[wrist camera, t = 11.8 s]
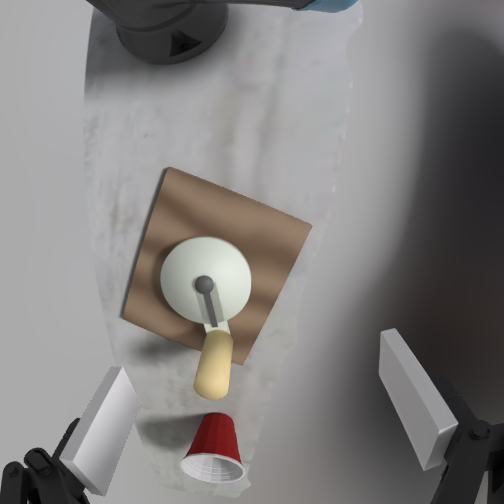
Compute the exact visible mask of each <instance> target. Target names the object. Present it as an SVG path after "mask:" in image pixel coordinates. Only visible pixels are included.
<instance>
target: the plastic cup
mask: <svg viewBox="0 0 504 504" xmlns="http://www.w3.org/2000/svg"><path fill="white" fill-rule="evenodd" d="M180 467H181V469H182V471H183V472H185V473H186V474H187V475H189V476H191V477H193V478H195V479H198V480H201V481H205V482H210V483H229V482H234V481H237V480H240V479H241V478H242V477H243V476H244V475H245V469H244V467H243V465H242V463H241V460H240V455H239V451H238V445H237V438H236V433H235V428H234V423H233V420H232V419H231V418H230V417H229V416H227V415H226V414H222V413H210V414H208V415H206V416H205V417H204V419H203V421H202V423H201V425H200V427H199V429H198V431H197V433H196V436H195V438H194V440H193V443H192V445H191V447H190V449H189V451H188V453H187V455H186V456H185V457H184V458H183V459H182V461H181V463H180Z"/></svg>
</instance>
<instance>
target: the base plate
mask: <svg viewBox="0 0 504 504" xmlns="http://www.w3.org/2000/svg"><path fill="white" fill-rule="evenodd" d="M311 228H312V225H311V224H309V223H307V222H304V221H302V220H300V219H297V218H295V217H293V216H290V215H288V214H286V213H284V212H281V211H279V210H277V209H274V208H272V207H269V206H267V205H265V204H262V203H260V202H258V201H255V200H253V199H250V198H248V197H246V196H243V195H241V194H238V193H236V192H233V191H231V190H228V189H226V188H224V187H221V186H219V185H216V184H214V183H211V182H208V181H206V180H203V179H201V178H198V177H196V176H193V175H191V174H188V173H185V172H183V171H180V170H178V169H175V168H172V167H168V169H167V172H166V175H165V178H164V180H163V183H162V186H161V189H160V192H159V194H158V197H157V200H156V203H155V206H154V209H153V212H152V215H151V218H150V221H149V225H148V228H147V231H146V234H145V237H144V241H143V244H142V247H141V251H140V254H139V257H138V261H137V264H136V268H135V271H134V275H133V279H132V282H131V286H130V290H129V294H128V298H127V302H126V306H125V310H124V314H123V318H122V319H124V320H126V321H129V322H131V323H133V324H135V325H138V326H140V327H142V328H144V329H147V330H149V331H152V332H154V333H156V334H159V335H161V336H164V337H166V338H168V339H171V340H173V341H176V342H178V343H181V344H183V345H186V346H189V347H191V348H194V349H197V350H199V351H202V349H203V345H204V341H205V338H206V335H207V334H206V330H205V327H204V324H203V323H197V322H194V321H191V320H189V319H186V318H185V317H183V316H181V315H180V314H179V313H177V312H176V311H175V310H174V309H173V308H172V307H171V306H170V305H169V303H168V302H167V300H166V298H165V296H164V294H163V291H162V287H161V280H160V278H161V270H162V266H163V263H164V261H165V260H166V258H167V256H168V255H169V254H170V252H171V251H172V250H173V249H174V248H175V247H176V246H177V245H178V244H179V243H181V242H182V241H184V240H186V239H188V238H191V237H194V236H199V235H211V236H217V237H220V238H223V239H225V240H227V241H229V242H231V243H232V244H233V245H235V246H236V247H237V248H238V249H239V250H240V251H241V252H242V253H243V255H244V256H245V258H246V260H247V262H248V264H249V267H250V271H251V291H250V295H249V298H248V301H247V303H246V304H245V306H244V307H243V309H242V310H241V311H240V312H239V313H238V314H236V315H235V316H234V317H232V318H231V319H228V320H227V322H228V327H229V331H230V335H231V336H232V338H233V350H232V358H231V362H233V363H236V364H239V365H241V366H242V365H243V363H244V361H245V360H246V358H247V356H248V354H249V352H250V350H251V348H252V346H253V344H254V343H255V341H256V339H257V337H258V335H259V333H260V331H261V329H262V327H263V325H264V323H265V321H266V319H267V317H268V315H269V313H270V312H271V310H272V308H273V306H274V304H275V302H276V300H277V298H278V296H279V294H280V292H281V290H282V288H283V286H284V284H285V282H286V280H287V278H288V276H289V274H290V271H291V269H292V267H293V265H294V263H295V261H296V259H297V257H298V255H299V253H300V251H301V249H302V247H303V245H304V243H305V240H306V238H307V236H308V234H309V232H310V230H311Z"/></svg>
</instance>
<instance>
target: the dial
mask: <svg viewBox="0 0 504 504" xmlns="http://www.w3.org/2000/svg"><path fill="white" fill-rule="evenodd" d="M160 280H161V287H162V291H163V294H164V296H165V298H166V300H167V302H168V303H169V305H170V306H171V307H172V308H173V309H174V310H175V311H176V312H177V313H179V314H180V315H181V316H183V317H185V318H186V319H189V320H191V321H194V322H197V323H203V324H204V327H205V330H206V334H207V335H206V338H205V341H204V345H203V349H202V353H201V357H200V361H199V365H198V369H197V373H196V377H195V381H194V389H195V391H196V393H197V394H198V395H200V396H201V397H203V398H206V399H210V400H216V399H220V398H223V397H224V396H225V395H226V394H227V392H228V386H229V376H230V367H231V358H232V350H233V338H232V336H231V335H230V331H229V327H228V322H227V320H228V319H231V318H232V317H234V316H235V315H236V314H238V313H239V312H240V311H241V310H242V309H243V307H244V306H245V304H246V303H247V301H248V298H249V295H250V291H251V271H250V267H249V264H248V262H247V260H246V258H245V256H244V255H243V253H242V252H241V251H240V250H239V249H238V248H237V247H236V246H235V245H233V244H232V243H231V242H229V241H227V240H225V239H223V238H220V237H217V236H211V235H199V236H194V237H191V238H188V239H186V240H184V241H182V242H181V243H179V244H178V245H177V246H176V247H175V248H174V249H173V250H172V251H171V252H170V254H169V255H168V256H167V258H166V260H165V261H164V263H163V266H162V270H161V278H160Z"/></svg>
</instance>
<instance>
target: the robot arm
mask: <svg viewBox="0 0 504 504" xmlns="http://www.w3.org/2000/svg"><path fill="white" fill-rule="evenodd" d="M87 1H88V2H89V3H90V4H92V5H93V6H94V7H96V8H97V9H98V10H100V11H101V12H102V13H104V14H105V15H106V16H108V17H109V18H110V19H111V20H113V21H114V22H115V23H116V28H117V33H118V37H119V39H120V41H121V43H122V44H123V46H124V47H125V48H126V49H127V50H128V51H129V52H130V53H131V54H133V55H134V56H136V57H137V58H139V59H140V60H142V61H145V62H148V63H152V64H174V63H179V62H182V61H186V60H188V59H191V58H193V57H195V56H197V55H199V54H200V53H202V52H203V51H205V50H206V49H207V48H209V47H210V46H211V45H212V44H213V43H214V42H215V41H216V40H217V39H218V37H219V36H220V35H221V33H222V31H223V30H224V27H225V25H226V22H227V18H228V5H227V4H255V5H269V6H280V7H289V8H291V9H293V10H296V11H305V10H313V11H321V12H328V13H335V12H339V11H342V10H346V9H348V8H349V7H351V6H352V5H353V4H355V3H356V2H357V1H358V0H87ZM379 376H380V378H381V379H382V382H383V383H384V386H385V388H386V390H387V392H388V394H389V396H390V398H391V400H392V402H393V404H394V406H395V409H396V411H397V413H398V415H399V417H400V419H401V421H402V423H403V426H404V428H405V430H406V432H407V434H408V437H409V439H410V441H411V443H412V445H413V448H414V450H415V452H416V454H417V457H418V459H419V461H420V463H421V466H422V468H423V470H424V471H425V470H428V469H430V468H433V467H435V466H438V465H440V464H441V462H442V460H443V458H445V460H446V462H447V466H446V468H445V470H444V472H443V473H442V478H441V480H440V483H439V485H438V488H437V490H436V492H435V494H434V497H433V499H432V501H431V503H430V504H474V503H475V499H476V497H477V494H478V491H479V488H480V484H481V481H482V478H483V475H484V471H488V495H487V504H504V423H502V424H497V425H490V424H489V423H488V422H486V421H483V420H478V419H477V418H476V417H475V415H474V414H473V412H472V411H471V409H470V408H469V406H468V405H467V403H466V402H465V400H464V399H463V398H462V396H460V393H459V392H458V391H457V390H456V388H455V387H454V385H453V383H452V382H451V381H450V380H449V379H447V378H445V377H444V376H442V375H440V376H437V377H434V378H431V379H430V378H429V377H428V375H427V374H426V372H425V371H424V369H423V368H422V366H421V365H420V363H419V362H418V360H417V359H416V358H415V356H414V355H413V353H412V352H411V350H410V349H409V347H408V346H407V344H406V343H405V342H404V340H403V339H402V337H401V336H400V335H399V333H398V332H397V331H396V329H395V328H394V329H390V330H386V331H382V332H381V343H380V363H379ZM140 405H141V403H140V401H139V399H138V397H137V395H136V393H135V391H134V389H133V387H132V385H131V383H130V381H129V379H128V377H127V375H126V372H125V370H124V368H123V367H110V369H109V371H108V373H107V374H106V376H105V377H104V379H103V381H102V383H101V384H100V386H99V388H98V389H97V391H96V393H95V394H94V396H93V398H92V400H91V401H90V403H89V405H88V407H87V409H86V410H85V412H84V414H83V415H82V417H81V418H77V419H75V420H74V421H73V422H72V423H71V424H70V425H69V427H68V429H67V431H66V433H65V434H64V436H63V439H61V441H60V443H59V445H58V447H57V448H56V450H55V452H54V454H53V456H52V457H50V456H49V455H48V453H47V452H46V451H45V450H44V449H42V448H33V449H32V450H30V451H28V453H27V454H26V455H25V457H24V463H25V464H26V465H27V466H28V468H24V467H23V466H22V465H21V464H20V463H19V462H16V461H14V462H10V463H9V464H7V465H6V466H5V468H4V470H3V475H2V483H1V492H0V504H27V500H28V501H29V504H90V503H89V501H88V499H87V496H86V495H85V493H84V492H83V491H84V489H85V487H86V488H87V489H88V490H89V491H90V492H91V493H92V494H96V495H100V496H106V493H107V490H108V488H109V485H110V482H111V480H112V477H113V474H114V472H115V469H116V466H117V463H118V461H119V458H120V455H121V453H122V450H123V448H124V445H125V443H126V440H127V438H128V435H129V433H130V430H131V427H132V425H133V423H134V420H135V418H136V415H137V413H138V410H139V408H140Z"/></svg>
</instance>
